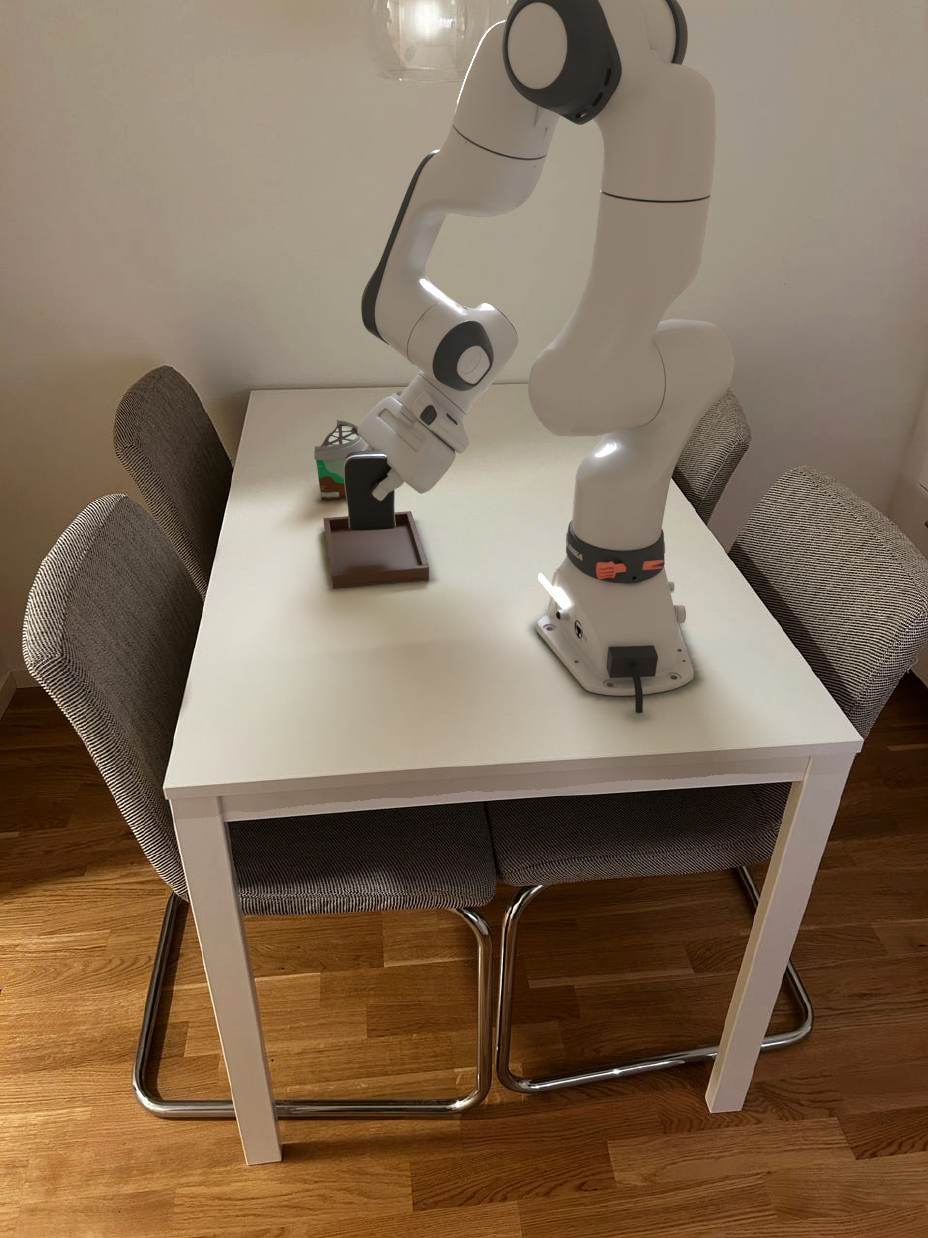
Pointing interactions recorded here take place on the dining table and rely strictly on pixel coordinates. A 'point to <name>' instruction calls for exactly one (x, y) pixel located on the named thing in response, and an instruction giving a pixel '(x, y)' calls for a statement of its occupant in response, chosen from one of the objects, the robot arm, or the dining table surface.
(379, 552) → the tray
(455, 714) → the dining table surface
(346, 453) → the food container
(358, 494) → the battery charger
